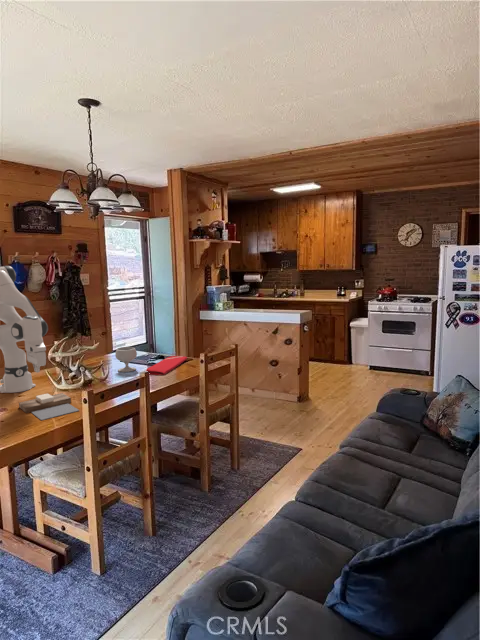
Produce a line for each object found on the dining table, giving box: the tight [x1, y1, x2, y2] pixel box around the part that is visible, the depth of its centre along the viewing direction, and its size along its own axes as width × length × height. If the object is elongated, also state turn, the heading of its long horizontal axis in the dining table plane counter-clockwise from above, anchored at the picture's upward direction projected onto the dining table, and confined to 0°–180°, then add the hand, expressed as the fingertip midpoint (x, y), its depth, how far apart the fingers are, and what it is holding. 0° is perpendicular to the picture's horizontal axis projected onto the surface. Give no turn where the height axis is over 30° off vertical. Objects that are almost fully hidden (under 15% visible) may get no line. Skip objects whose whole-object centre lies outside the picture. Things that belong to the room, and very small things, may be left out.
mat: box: [30, 403, 80, 421], centre depth 213 cm, size 15×18×1 cm
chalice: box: [115, 346, 138, 373], centre depth 290 cm, size 14×14×15 cm
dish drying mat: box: [145, 355, 188, 376], centre depth 297 cm, size 16×41×4 cm, turn 165°
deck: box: [18, 392, 72, 414], centre depth 223 cm, size 12×22×2 cm, turn 132°
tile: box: [35, 392, 54, 404], centre depth 223 cm, size 9×6×2 cm, turn 42°
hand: (37, 371), depth 228 cm, fingers closed
